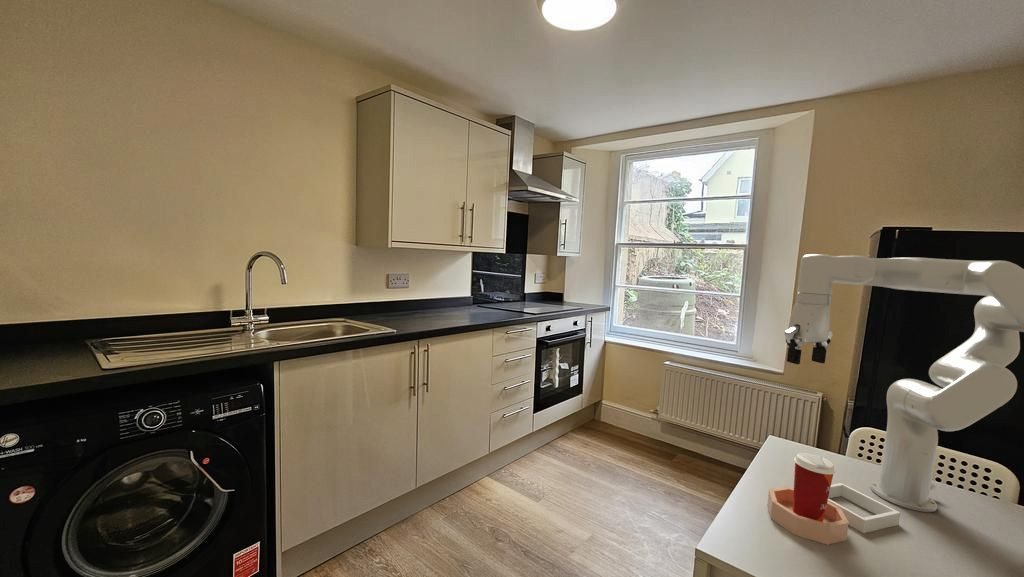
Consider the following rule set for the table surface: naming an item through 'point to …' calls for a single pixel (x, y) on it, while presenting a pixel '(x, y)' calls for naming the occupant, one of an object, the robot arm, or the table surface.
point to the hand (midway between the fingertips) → (805, 362)
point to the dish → (823, 532)
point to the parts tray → (883, 513)
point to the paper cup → (812, 485)
